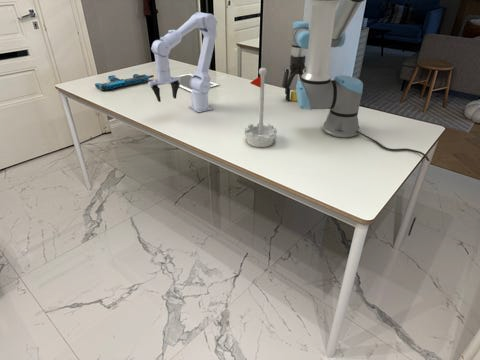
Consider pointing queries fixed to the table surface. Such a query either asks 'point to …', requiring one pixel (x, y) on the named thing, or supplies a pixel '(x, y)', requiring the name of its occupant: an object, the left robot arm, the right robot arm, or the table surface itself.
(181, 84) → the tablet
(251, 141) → the flag stand
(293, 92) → the tin
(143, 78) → the submachine gun
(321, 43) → the right robot arm
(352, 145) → the table surface
